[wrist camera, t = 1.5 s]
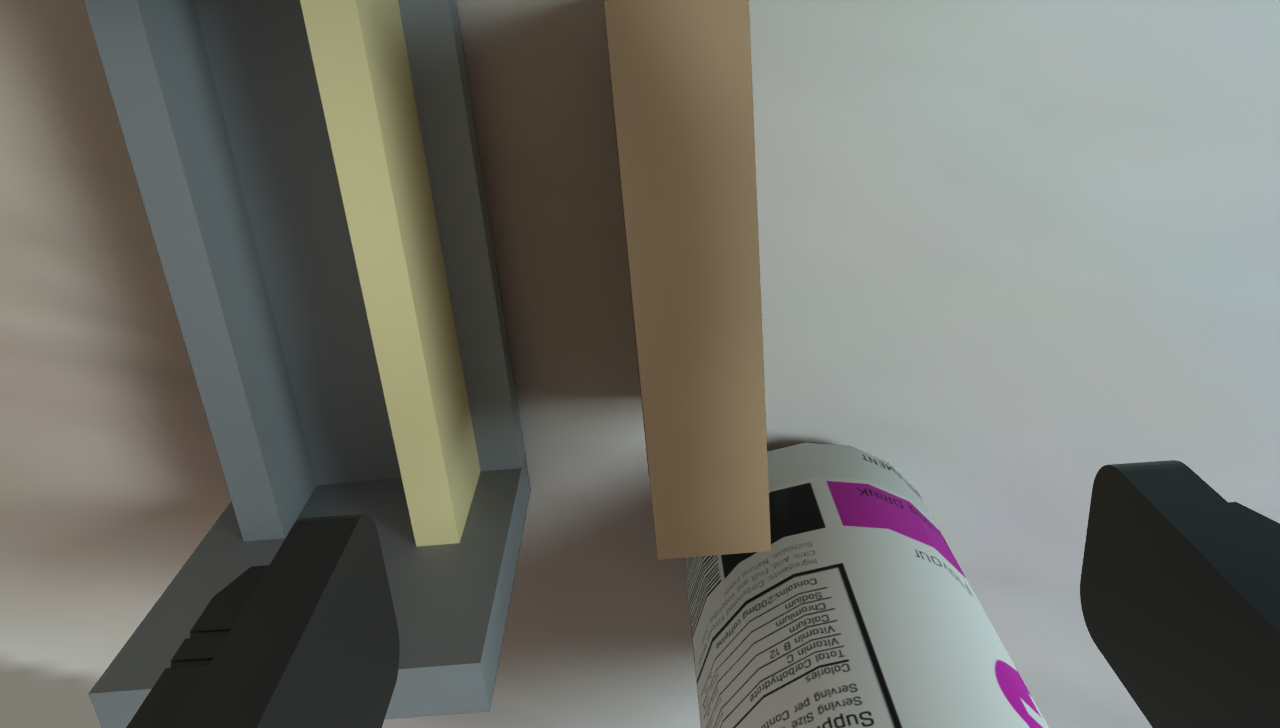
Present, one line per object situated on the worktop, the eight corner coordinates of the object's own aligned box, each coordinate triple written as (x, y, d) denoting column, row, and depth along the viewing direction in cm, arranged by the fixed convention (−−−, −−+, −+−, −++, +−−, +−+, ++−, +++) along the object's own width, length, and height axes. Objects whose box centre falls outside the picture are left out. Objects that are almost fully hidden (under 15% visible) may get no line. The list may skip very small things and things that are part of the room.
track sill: (437, -120, 24) (318, -175, 15) (530, 490, 31) (489, 710, 22) (90, -86, 24) (-238, -120, 15) (260, 513, 31) (107, 740, 22)
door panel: (711, -20, 25) (751, -14, 17) (733, 388, 30) (773, 551, 22) (610, -10, 25) (601, 0, 17) (648, 395, 30) (655, 560, 22)
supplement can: (927, 421, 30) (1180, 803, 16) (920, 629, 33) (1126, 1096, 20) (675, 442, 30) (714, 836, 17) (691, 647, 34) (736, 1121, 20)
